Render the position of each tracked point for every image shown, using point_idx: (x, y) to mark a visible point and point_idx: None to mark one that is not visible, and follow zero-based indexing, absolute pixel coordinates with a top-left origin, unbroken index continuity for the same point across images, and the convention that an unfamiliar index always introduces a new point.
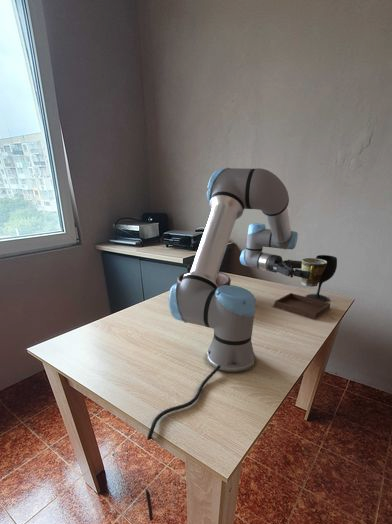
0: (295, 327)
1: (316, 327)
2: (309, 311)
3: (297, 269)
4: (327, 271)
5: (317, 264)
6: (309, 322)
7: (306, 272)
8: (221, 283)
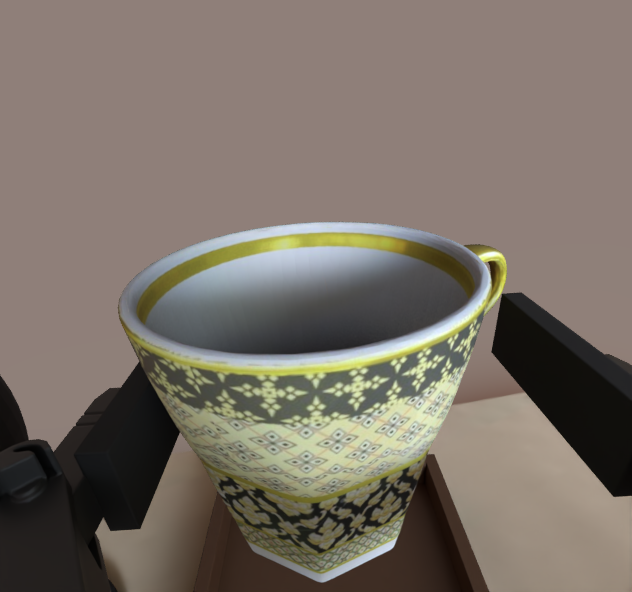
0: (616, 499)
1: (492, 438)
2: (446, 491)
3: (629, 389)
4: (19, 411)
5: (412, 231)
6: (485, 482)
7: (542, 316)
8: None
